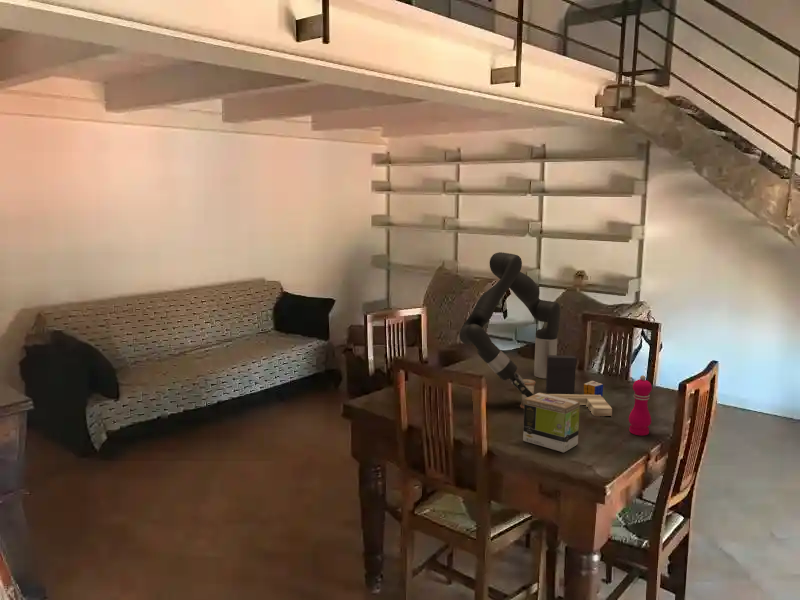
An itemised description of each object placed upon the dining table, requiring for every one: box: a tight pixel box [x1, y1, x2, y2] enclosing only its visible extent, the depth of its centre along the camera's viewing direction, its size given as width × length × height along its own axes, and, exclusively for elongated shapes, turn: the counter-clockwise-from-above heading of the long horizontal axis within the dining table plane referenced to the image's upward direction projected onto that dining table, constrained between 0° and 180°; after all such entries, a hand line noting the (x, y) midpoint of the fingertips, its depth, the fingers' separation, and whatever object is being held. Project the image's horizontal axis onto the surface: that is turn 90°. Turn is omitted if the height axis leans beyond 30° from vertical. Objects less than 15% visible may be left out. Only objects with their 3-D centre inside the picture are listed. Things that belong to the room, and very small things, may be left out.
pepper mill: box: [628, 374, 653, 437], centre depth 223 cm, size 7×7×20 cm
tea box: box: [522, 392, 581, 454], centre depth 213 cm, size 15×10×15 cm, turn 48°
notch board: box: [548, 393, 613, 418], centre depth 247 cm, size 16×20×3 cm
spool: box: [519, 379, 536, 410], centre depth 248 cm, size 5×5×10 cm
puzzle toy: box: [583, 380, 604, 397], centre depth 262 cm, size 6×5×6 cm
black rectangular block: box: [545, 354, 577, 394], centre depth 266 cm, size 11×4×15 cm, turn 84°
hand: (531, 395), depth 248 cm, fingers open, 8 cm apart
